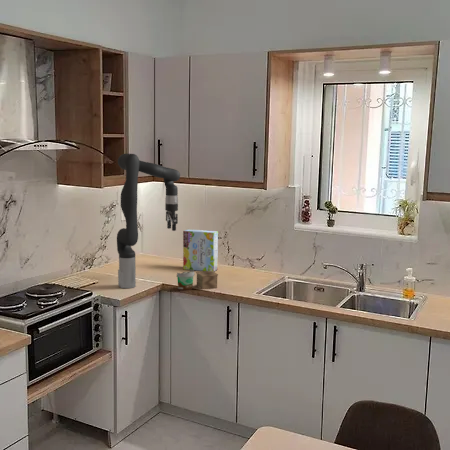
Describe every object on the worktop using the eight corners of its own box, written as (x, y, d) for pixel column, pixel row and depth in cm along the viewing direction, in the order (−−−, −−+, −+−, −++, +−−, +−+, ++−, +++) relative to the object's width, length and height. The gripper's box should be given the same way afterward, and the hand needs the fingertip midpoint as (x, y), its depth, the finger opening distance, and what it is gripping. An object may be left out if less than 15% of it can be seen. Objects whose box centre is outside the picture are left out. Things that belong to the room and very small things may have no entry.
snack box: (218, 269, 369) (218, 230, 366) (213, 272, 361) (214, 232, 358) (187, 266, 377) (188, 228, 373) (182, 269, 369) (182, 230, 365)
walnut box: (202, 289, 320) (202, 275, 318) (195, 285, 328) (196, 272, 327) (217, 288, 324) (218, 274, 322) (211, 284, 332) (211, 270, 331)
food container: (184, 292, 313) (184, 274, 312) (176, 290, 317) (176, 273, 316) (199, 288, 323) (199, 270, 322) (190, 286, 327) (190, 269, 325)
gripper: (161, 201, 343) (161, 228, 346) (169, 204, 331) (169, 231, 333) (173, 201, 347) (173, 227, 349) (181, 203, 334) (181, 231, 336)
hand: (171, 229), depth 341 cm, fingers open, 8 cm apart
